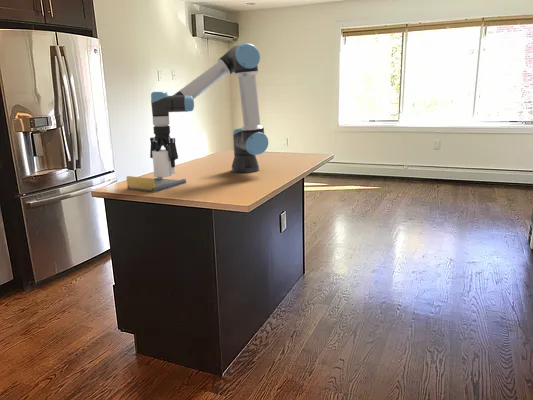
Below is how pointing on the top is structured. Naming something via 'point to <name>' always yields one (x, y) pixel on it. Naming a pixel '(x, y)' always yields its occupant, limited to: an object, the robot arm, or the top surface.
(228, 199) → the top surface
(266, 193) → the top surface
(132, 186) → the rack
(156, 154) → the mug
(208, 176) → the top surface
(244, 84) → the robot arm
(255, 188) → the top surface
